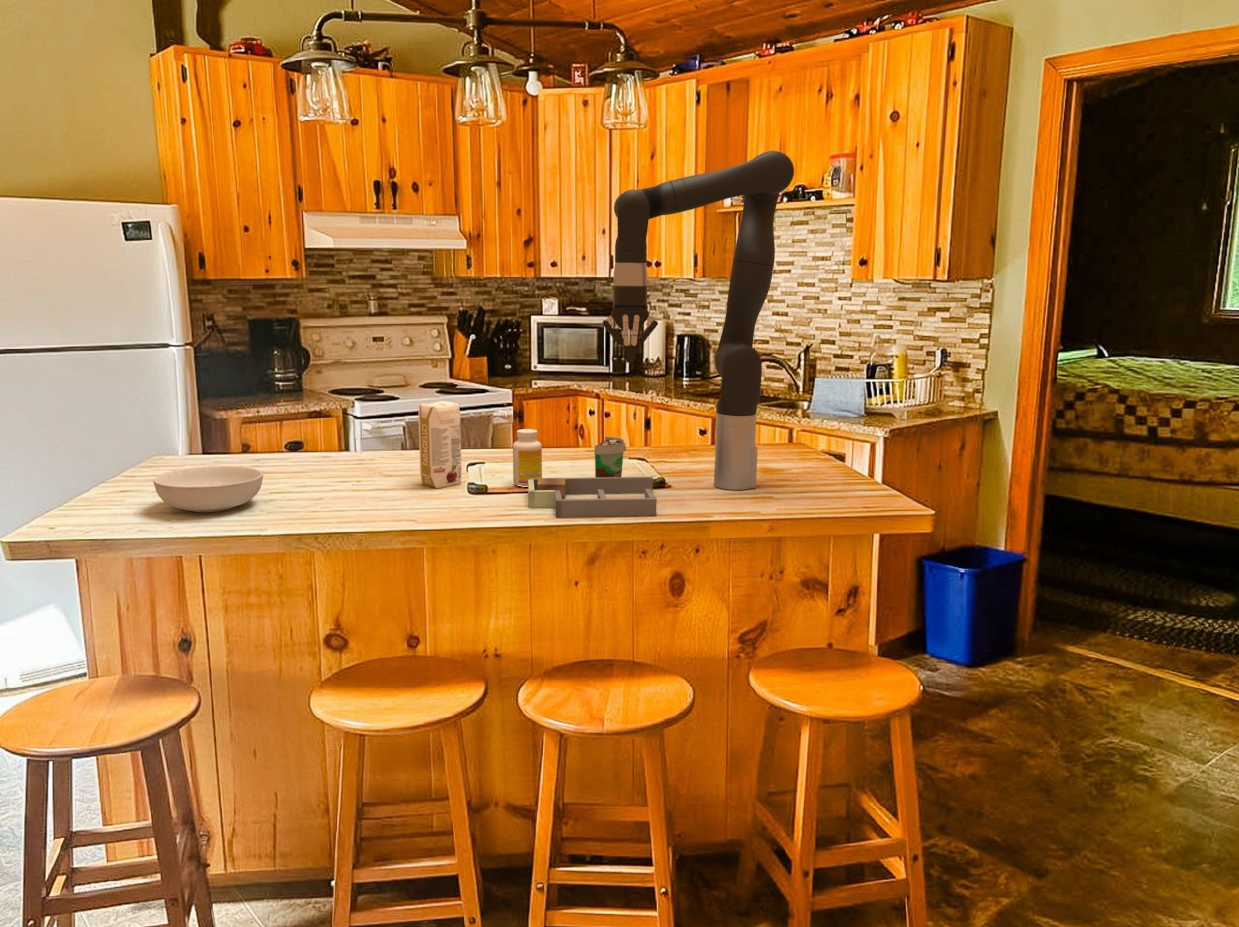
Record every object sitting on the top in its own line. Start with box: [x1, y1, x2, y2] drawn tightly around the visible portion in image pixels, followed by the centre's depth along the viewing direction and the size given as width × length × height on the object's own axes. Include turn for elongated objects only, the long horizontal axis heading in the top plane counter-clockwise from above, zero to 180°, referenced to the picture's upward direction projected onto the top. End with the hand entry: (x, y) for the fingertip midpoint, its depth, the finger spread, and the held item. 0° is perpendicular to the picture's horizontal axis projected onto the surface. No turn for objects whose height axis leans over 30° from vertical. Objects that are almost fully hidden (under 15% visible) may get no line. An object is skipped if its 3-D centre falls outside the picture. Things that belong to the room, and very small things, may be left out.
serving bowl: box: [153, 465, 264, 513], centre depth 198 cm, size 21×21×7 cm
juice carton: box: [417, 400, 462, 489], centre depth 219 cm, size 8×9×19 cm
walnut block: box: [537, 477, 566, 499], centre depth 209 cm, size 6×6×4 cm
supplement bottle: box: [512, 428, 543, 486], centre depth 220 cm, size 7×7×13 cm
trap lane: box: [527, 476, 658, 518], centre depth 204 cm, size 28×21×4 cm
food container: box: [593, 436, 627, 477], centre depth 223 cm, size 12×6×10 cm, turn 168°
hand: (629, 362), depth 214 cm, fingers closed
